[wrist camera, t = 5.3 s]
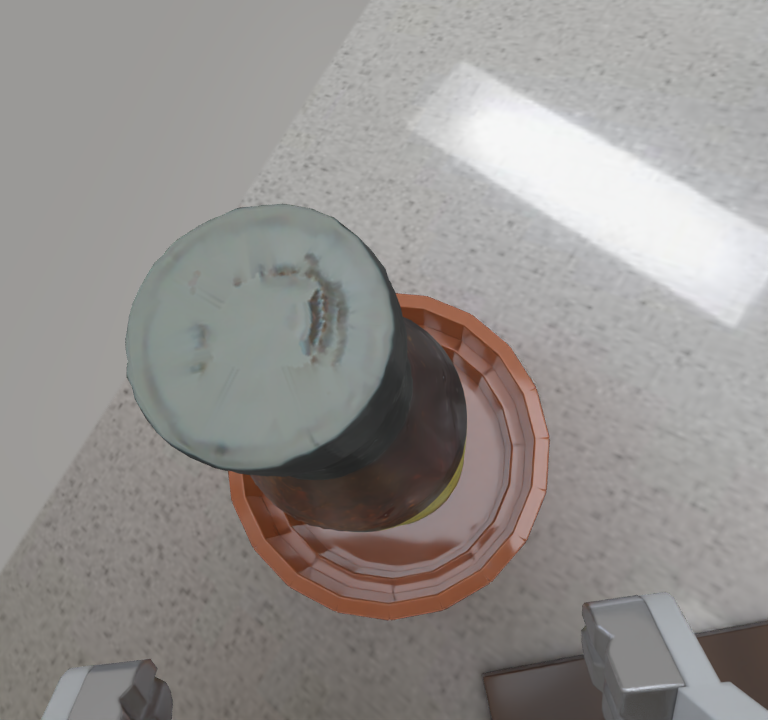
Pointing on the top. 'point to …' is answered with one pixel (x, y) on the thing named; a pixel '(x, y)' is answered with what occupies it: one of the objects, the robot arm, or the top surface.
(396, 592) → the bowl
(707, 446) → the top surface
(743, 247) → the top surface
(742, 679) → the board
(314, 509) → the sauce bottle
